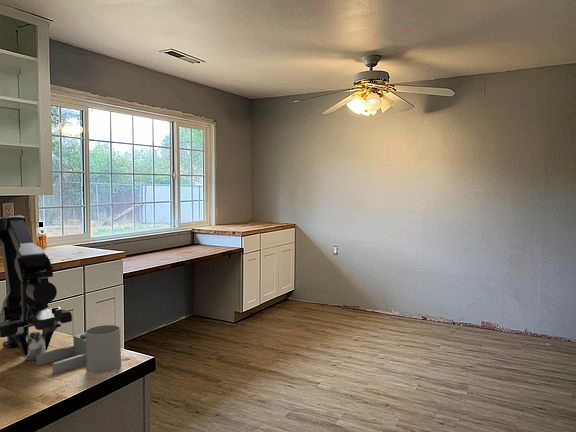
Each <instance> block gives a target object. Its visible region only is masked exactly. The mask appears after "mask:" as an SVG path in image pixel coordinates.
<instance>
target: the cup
mask: <svg viewBox="0 0 576 432" xmlns="http://www.w3.org/2000/svg"><path fill="white" fill-rule="evenodd" d="M84 333H85V335H86V364H85V365H86V371H87V372H88V373H90V374H106V373H111V372H113V371H117V370H118V369H120V368H121V366H122V346H121V341H122V340H121V327H120V326H119V325H115V324H114V325H113V324H104V325H103V324H102V325H97V326H93V327H90V328H88V329H86V331H85V332H84Z"/></svg>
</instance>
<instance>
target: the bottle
mask: <svg viewBox="0 0 576 432" xmlns="http://www.w3.org/2000/svg"><path fill="white" fill-rule="evenodd" d="M26 346H27V356H24V357H25V361H32V362H33V361H37V358H36V355H38V354H42V353H46V352H47V350H46V344H45V334H43V333H41V332H40V331H33V332H29V335H27V336H26Z"/></svg>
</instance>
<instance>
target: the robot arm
mask: <svg viewBox="0 0 576 432" xmlns="http://www.w3.org/2000/svg"><path fill="white" fill-rule="evenodd" d="M0 247H1V253H2V261H3V267H4V268H3V269H4V275H5V283H6V284H5V285H6V292H7V294H6V295H5V298H4V300H3V302H2V307H1V309H0V338H6V340H5V341H2V344H3V345H4V346H5V347H9V348H11V349H12V348H13V349H14V348H17V347H19V349H20V351H21V353H22V355H23V356H24V357H25V356H27V346H26V336H27V335H30V327H34V329H35V330H37V331H41V332H42V333H43V334H45V344H46V351H48V348H49V346H50V342H51V340H52V337H53V335H54V332H55V331H56V330H57V329H58V328H61V326H62V324H66V323H70V322H73V314H72V312H71V311H70V310H69V311H68V310H66V309H62V308H61V306H56V307H53V308H50V307H49V304H50V303H51V302H52V301H54V300H55V298H56V297H57V294H58V289H57V286H56V285H55V284H53V283H52V282H50V281H49V278H52V277H54V268H53V266H52V263H51V259H50V258H49V256H48V254H46V252H45V251H44V250H43V248H42V247H40V246H38V245H36V244H35V243H34V240H33V237H32V235H31V233H30V231H29V229H28V227H27V225H26V217H25V216H23V215H7V216H2V217H1V216H0ZM60 323H61V324H60Z"/></svg>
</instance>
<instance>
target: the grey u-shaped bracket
mask: <svg viewBox="0 0 576 432" xmlns="http://www.w3.org/2000/svg"><path fill="white" fill-rule="evenodd" d="M72 338H73V342H72V343H73V344H72V345H68V346H64V347H60V348H57V349H54V350H51V351H46V353H42V354H38V355H36V358H37V360H36V365H38V366H41V365H44V364H48V363H51V362H52V374H55V375H56V374H58V373H59V374H60V373H62V372H65V371H68V370H71V369H74V368H78V367H80V366H83V365H86V335H85V332H82V333H78V334H75V335H73V337H72ZM75 355H76V356H75ZM58 360H59V361H58Z"/></svg>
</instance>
